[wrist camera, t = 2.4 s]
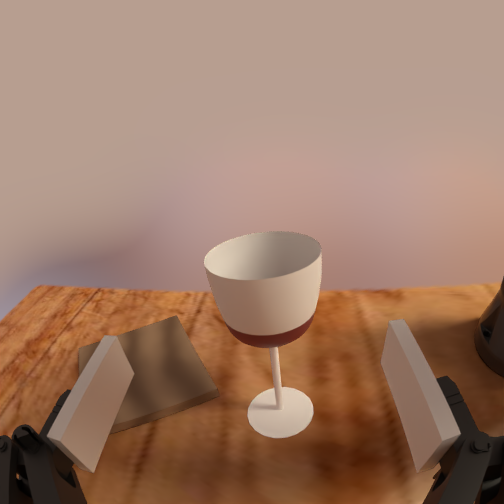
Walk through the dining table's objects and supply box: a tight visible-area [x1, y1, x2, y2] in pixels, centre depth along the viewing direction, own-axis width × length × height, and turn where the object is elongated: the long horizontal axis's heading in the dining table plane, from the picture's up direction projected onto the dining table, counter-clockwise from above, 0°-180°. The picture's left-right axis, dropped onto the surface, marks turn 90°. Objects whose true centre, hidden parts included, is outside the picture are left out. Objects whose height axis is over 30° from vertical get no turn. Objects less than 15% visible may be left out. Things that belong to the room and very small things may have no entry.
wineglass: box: [204, 231, 322, 438], centre depth 26 cm, size 8×9×20 cm
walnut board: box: [79, 315, 220, 434], centre depth 38 cm, size 18×18×2 cm
